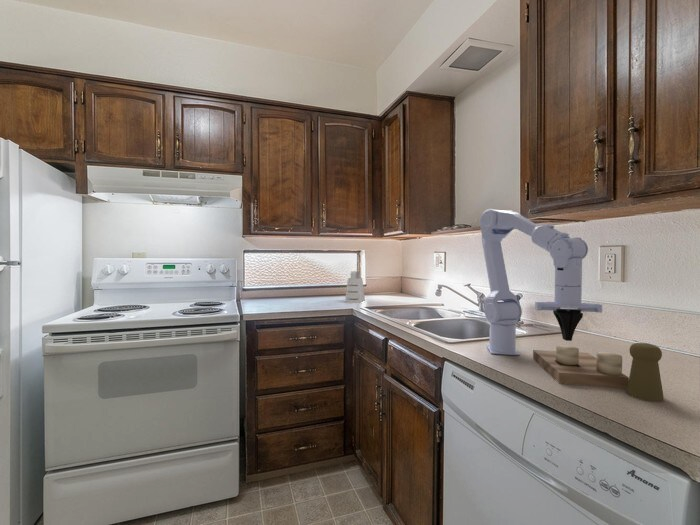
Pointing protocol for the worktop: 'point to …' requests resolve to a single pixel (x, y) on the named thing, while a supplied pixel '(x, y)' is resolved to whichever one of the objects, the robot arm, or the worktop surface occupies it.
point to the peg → (567, 355)
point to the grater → (354, 289)
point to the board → (585, 369)
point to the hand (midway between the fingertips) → (567, 339)
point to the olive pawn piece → (645, 373)
